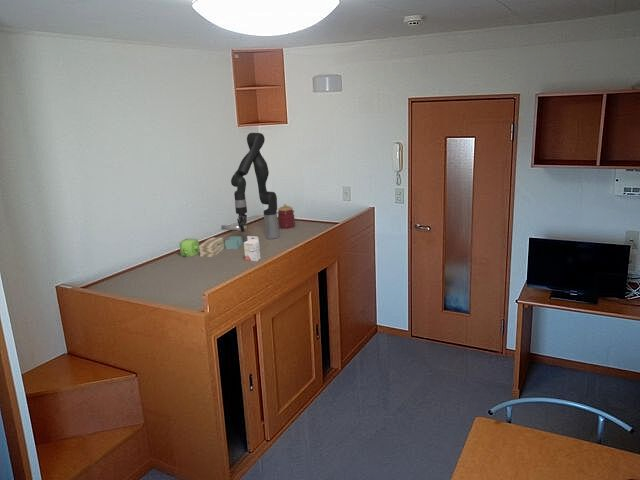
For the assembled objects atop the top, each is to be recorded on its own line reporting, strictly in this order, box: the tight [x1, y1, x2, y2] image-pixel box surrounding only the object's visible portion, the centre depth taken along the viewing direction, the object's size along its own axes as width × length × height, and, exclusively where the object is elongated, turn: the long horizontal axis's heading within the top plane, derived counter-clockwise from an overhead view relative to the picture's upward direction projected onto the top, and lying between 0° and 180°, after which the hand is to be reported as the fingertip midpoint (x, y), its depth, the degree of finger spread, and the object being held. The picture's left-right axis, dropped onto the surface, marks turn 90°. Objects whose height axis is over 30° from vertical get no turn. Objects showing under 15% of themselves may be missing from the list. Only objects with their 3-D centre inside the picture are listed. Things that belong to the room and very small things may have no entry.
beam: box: [199, 237, 225, 258], centre depth 356 cm, size 9×20×8 cm, turn 170°
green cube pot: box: [179, 238, 201, 257], centre depth 354 cm, size 18×10×10 cm, turn 167°
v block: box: [224, 235, 244, 250], centre depth 367 cm, size 8×13×6 cm, turn 170°
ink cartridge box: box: [243, 235, 261, 262], centre depth 332 cm, size 9×5×15 cm, turn 65°
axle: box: [220, 224, 249, 232], centre depth 364 cm, size 18×4×4 cm, turn 80°
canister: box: [277, 204, 296, 229], centre depth 413 cm, size 13×13×18 cm
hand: (243, 230), depth 364 cm, fingers closed on axle, 3 cm apart
